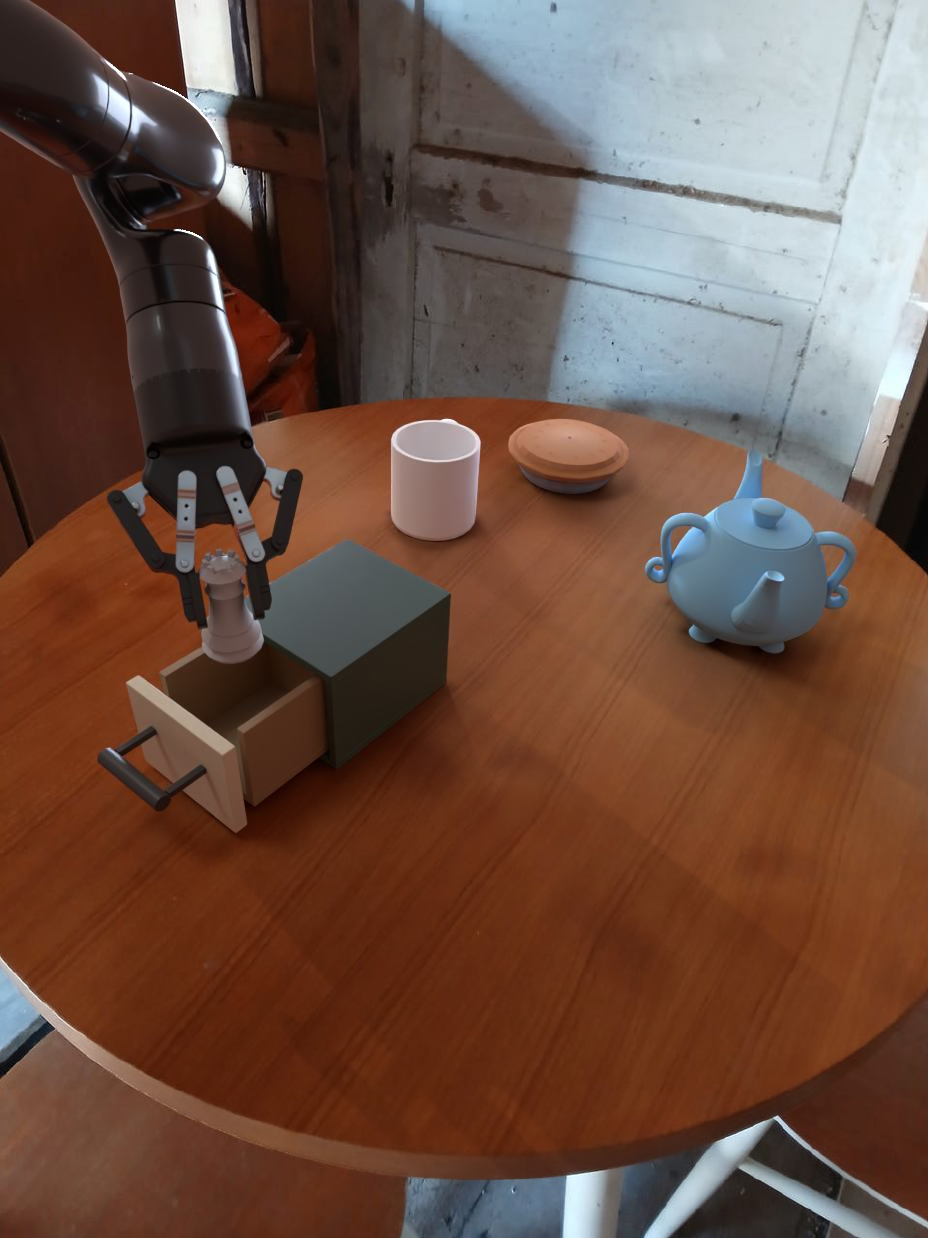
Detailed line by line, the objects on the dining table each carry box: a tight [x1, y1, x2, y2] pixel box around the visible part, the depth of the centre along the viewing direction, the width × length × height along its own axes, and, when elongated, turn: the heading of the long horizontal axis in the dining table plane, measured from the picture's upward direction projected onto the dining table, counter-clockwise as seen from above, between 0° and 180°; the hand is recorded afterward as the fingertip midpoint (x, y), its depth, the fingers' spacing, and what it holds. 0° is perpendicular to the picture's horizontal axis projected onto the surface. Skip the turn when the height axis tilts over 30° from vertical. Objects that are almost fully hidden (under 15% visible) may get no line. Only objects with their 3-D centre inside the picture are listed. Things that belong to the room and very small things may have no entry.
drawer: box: [96, 642, 329, 834], centre depth 72 cm, size 18×11×9 cm, turn 141°
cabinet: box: [244, 538, 452, 771], centre depth 80 cm, size 15×13×11 cm
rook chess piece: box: [197, 547, 264, 664], centre depth 64 cm, size 4×4×8 cm
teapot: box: [644, 448, 857, 654], centre depth 91 cm, size 16×20×14 cm
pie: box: [507, 418, 630, 495], centre depth 116 cm, size 15×16×5 cm
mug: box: [390, 418, 481, 542], centre depth 105 cm, size 13×10×10 cm
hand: (231, 621), depth 63 cm, fingers closed on rook chess piece, 3 cm apart
